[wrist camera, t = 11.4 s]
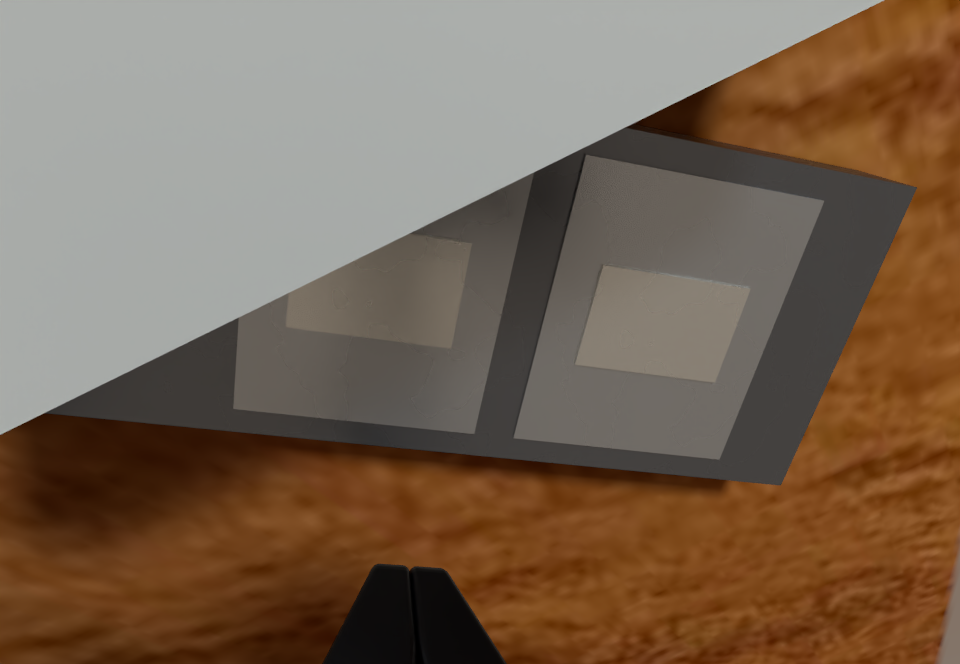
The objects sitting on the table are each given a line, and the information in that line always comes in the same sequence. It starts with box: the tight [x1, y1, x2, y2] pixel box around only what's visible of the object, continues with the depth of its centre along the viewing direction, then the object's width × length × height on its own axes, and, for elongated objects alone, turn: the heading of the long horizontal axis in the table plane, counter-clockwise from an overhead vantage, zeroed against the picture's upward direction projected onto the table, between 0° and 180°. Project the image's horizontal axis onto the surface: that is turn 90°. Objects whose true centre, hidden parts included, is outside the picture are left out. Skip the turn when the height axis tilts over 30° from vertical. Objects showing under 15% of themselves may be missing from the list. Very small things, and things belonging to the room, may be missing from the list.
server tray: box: [45, 124, 917, 485], centre depth 18 cm, size 10×25×3 cm, turn 78°
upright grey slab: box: [0, 0, 883, 435], centre depth 11 cm, size 22×4×8 cm, turn 115°
